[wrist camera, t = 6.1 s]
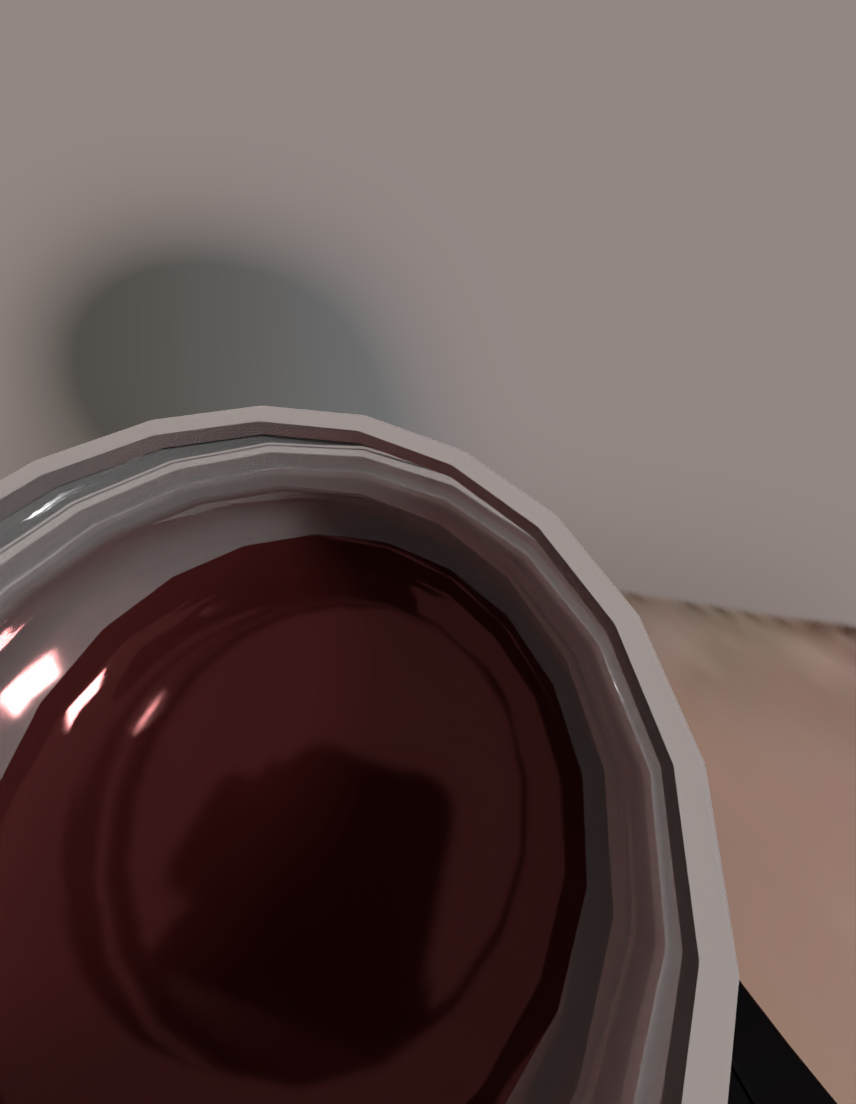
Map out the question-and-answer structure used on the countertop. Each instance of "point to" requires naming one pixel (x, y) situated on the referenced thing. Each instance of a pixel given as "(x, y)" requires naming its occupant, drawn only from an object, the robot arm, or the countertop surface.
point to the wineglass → (339, 787)
